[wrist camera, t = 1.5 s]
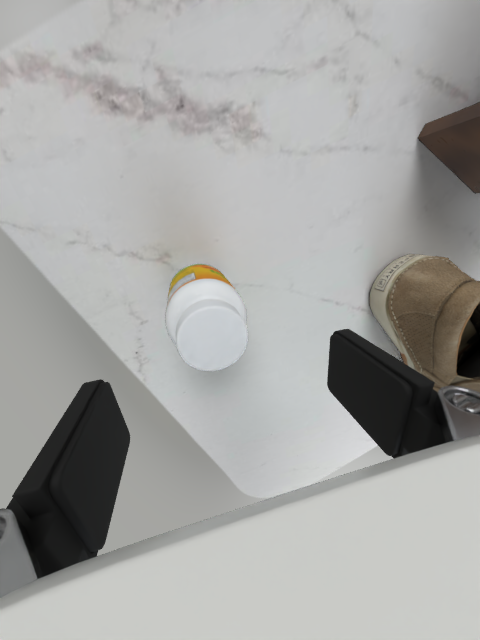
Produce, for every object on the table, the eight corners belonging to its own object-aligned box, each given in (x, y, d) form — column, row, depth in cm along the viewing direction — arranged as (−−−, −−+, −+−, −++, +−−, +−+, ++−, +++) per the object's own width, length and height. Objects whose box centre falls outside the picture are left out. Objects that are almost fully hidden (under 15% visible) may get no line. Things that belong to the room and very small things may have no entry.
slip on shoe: (486, 367, 37) (571, 408, 29) (430, 413, 38) (497, 464, 30) (429, 220, 24) (554, 219, 16) (348, 296, 25) (426, 330, 17)
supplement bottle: (239, 294, 22) (278, 340, 14) (197, 330, 23) (209, 397, 14) (202, 249, 20) (220, 270, 11) (155, 290, 20) (138, 341, 12)
